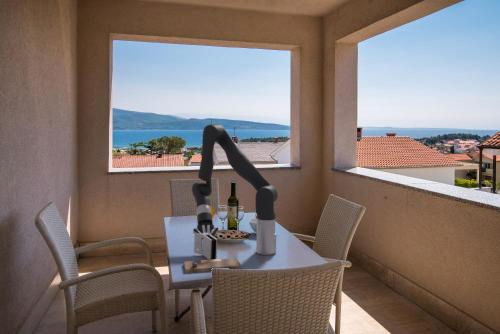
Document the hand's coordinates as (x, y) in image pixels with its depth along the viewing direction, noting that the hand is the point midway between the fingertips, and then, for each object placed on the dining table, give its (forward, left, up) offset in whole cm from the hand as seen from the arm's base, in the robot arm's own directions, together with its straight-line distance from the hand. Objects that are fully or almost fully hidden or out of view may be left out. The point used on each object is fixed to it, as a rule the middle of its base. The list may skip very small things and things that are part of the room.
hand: (207, 246), depth 180 cm
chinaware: (-37, -35, -5) cm, 51 cm away
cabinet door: (0, +15, -5) cm, 16 cm away
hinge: (+1, +2, -4) cm, 5 cm away
